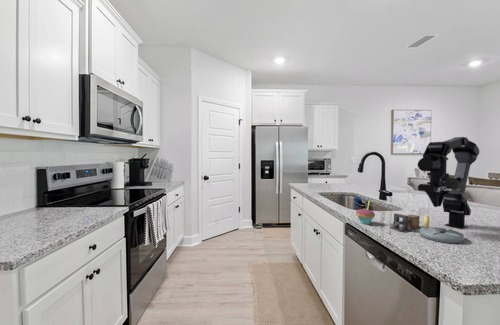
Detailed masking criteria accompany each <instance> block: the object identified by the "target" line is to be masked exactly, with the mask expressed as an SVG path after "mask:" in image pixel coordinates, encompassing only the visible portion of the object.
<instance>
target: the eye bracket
mask: <svg viewBox="0 0 500 325" xmlns="http://www.w3.org/2000/svg"><path fill="white" fill-rule="evenodd" d="M406 215H407V214H401V213H393V222H399V221H400V218H401V219H402V220H401V221H402V224H401V225H402V226H401V225H396V226H394V227H393V226H391V225H390V226H389V229H392V230H395V231H398V232H402V233H409V232H413V228H409V227H408V216H406Z"/></svg>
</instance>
